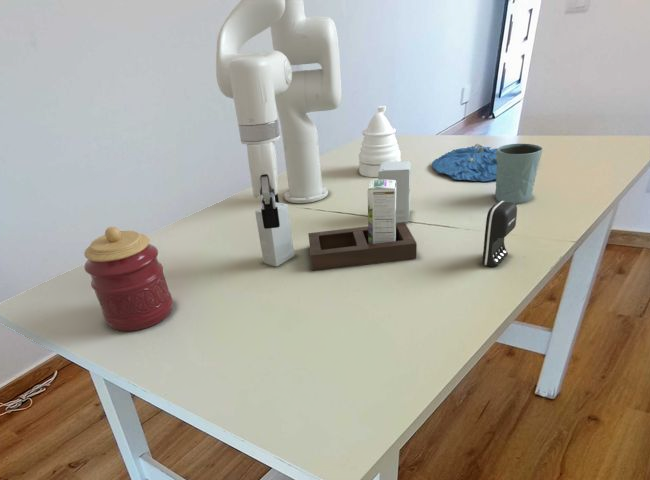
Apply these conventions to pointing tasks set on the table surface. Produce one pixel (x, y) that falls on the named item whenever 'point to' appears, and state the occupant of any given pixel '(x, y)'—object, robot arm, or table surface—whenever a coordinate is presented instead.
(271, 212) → the robot arm
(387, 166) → the white packaging box
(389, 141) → the honey pot
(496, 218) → the battery charger
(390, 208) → the syrup box
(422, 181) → the table surface
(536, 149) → the green cup
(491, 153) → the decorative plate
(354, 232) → the rack
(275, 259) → the cosmetic box
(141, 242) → the kitchen canister
